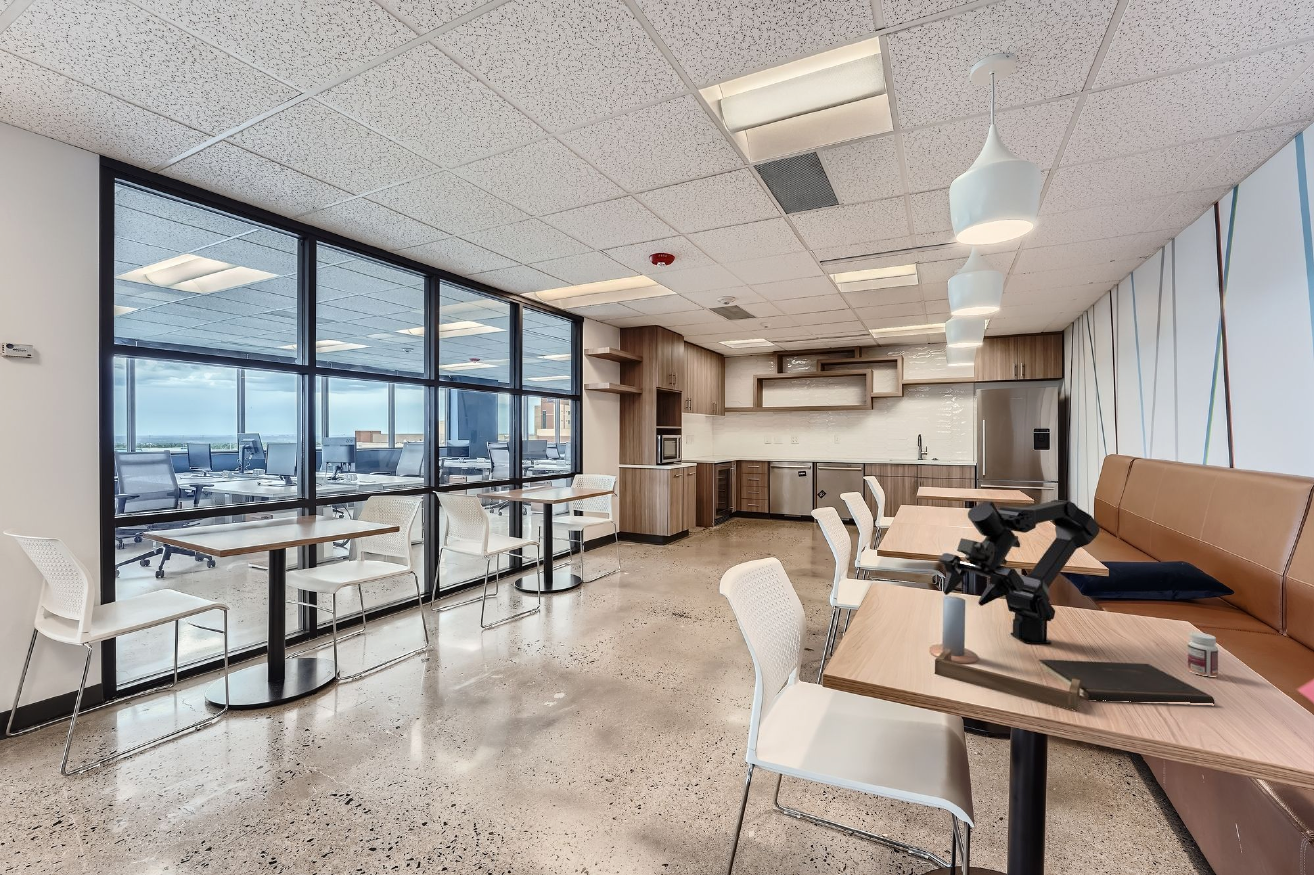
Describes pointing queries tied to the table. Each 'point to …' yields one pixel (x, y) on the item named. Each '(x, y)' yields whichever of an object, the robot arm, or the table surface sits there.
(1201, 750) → the table surface
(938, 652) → the terracotta coaster
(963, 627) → the blue canister
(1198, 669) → the pill bottle
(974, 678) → the walnut rack
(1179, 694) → the hardcover book
